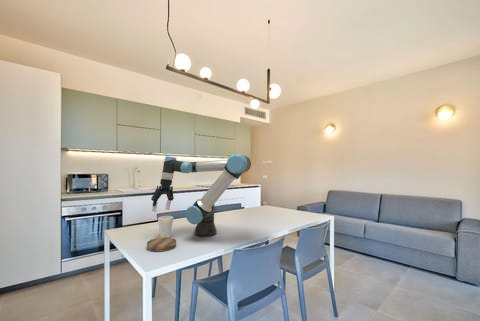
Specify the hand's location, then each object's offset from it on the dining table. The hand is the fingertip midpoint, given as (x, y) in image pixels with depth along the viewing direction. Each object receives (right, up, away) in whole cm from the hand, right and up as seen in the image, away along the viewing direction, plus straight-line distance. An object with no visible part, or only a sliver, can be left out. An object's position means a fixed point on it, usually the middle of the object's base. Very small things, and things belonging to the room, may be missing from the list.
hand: (160, 210), depth 149 cm
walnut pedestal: (+8, -17, -20) cm, 27 cm away
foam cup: (+4, -17, -2) cm, 18 cm away
